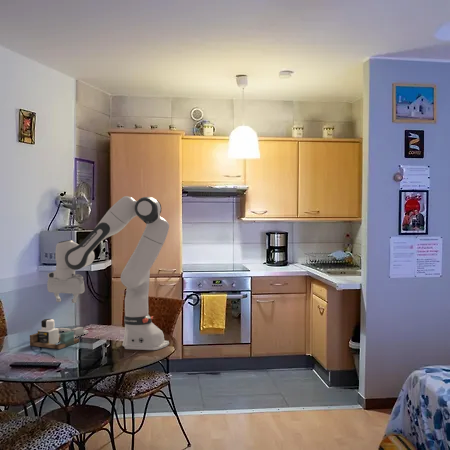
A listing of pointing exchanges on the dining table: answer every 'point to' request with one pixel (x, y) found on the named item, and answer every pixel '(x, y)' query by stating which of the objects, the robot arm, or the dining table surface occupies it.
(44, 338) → the medicine bottle
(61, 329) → the broken sled
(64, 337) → the sled
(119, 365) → the dining table surface
